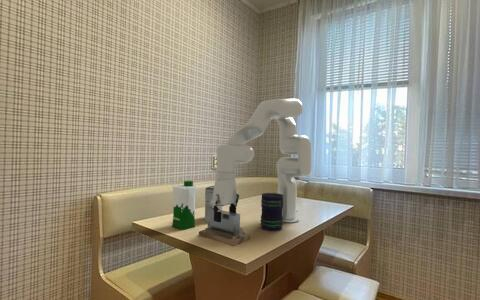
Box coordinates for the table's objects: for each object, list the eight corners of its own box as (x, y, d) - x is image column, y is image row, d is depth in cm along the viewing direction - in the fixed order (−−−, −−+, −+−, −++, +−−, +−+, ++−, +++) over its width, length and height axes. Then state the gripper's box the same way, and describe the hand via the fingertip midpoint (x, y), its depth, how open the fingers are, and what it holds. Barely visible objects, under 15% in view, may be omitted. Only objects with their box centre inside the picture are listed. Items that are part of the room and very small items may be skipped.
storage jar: (258, 229, 115) (259, 195, 115) (262, 224, 124) (263, 192, 124) (281, 232, 112) (282, 197, 112) (283, 226, 122) (284, 193, 122)
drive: (216, 228, 110) (216, 209, 110) (239, 234, 103) (240, 213, 103) (209, 230, 107) (210, 210, 107) (233, 236, 100) (234, 215, 100)
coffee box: (210, 216, 135) (211, 185, 135) (222, 217, 134) (223, 186, 134) (204, 221, 126) (205, 187, 126) (217, 222, 125) (218, 188, 125)
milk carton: (197, 226, 117) (199, 181, 117) (181, 231, 110) (182, 183, 110) (185, 222, 123) (186, 179, 123) (168, 226, 116) (170, 181, 116)
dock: (214, 229, 114) (215, 217, 114) (249, 238, 104) (250, 225, 104) (198, 235, 106) (199, 222, 106) (234, 245, 95) (235, 231, 95)
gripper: (231, 173, 114) (230, 213, 114) (204, 177, 100) (203, 222, 100) (245, 175, 110) (245, 215, 110) (219, 178, 95) (218, 225, 96)
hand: (225, 218), depth 105 cm, fingers open, 9 cm apart
